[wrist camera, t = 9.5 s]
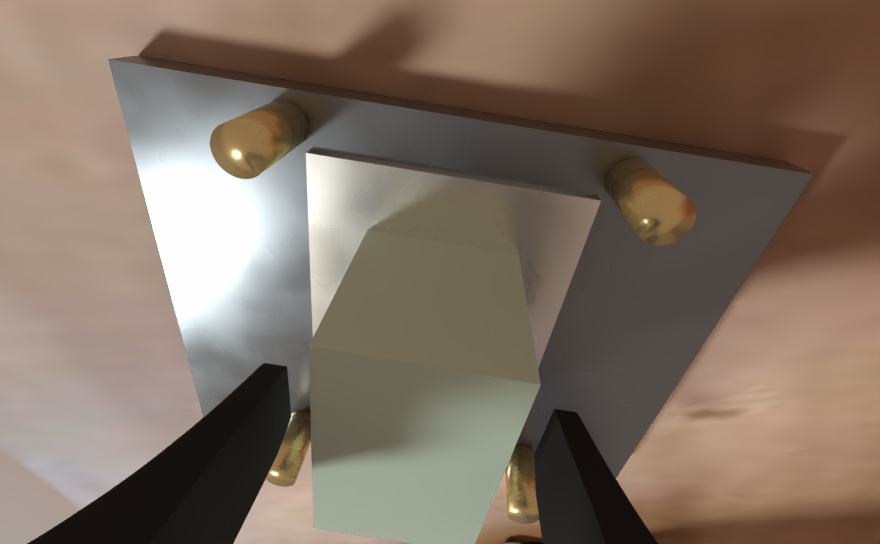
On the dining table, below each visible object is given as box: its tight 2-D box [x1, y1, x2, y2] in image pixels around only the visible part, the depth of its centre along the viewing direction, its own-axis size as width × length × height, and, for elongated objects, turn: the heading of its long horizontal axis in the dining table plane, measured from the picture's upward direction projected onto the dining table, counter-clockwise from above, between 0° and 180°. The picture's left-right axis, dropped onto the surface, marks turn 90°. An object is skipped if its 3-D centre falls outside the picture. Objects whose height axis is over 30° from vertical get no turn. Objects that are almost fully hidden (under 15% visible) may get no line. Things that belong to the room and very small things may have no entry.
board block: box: [309, 229, 541, 544], centre depth 12 cm, size 4×7×5 cm, turn 171°
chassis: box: [108, 56, 814, 524], centre depth 14 cm, size 18×14×4 cm
